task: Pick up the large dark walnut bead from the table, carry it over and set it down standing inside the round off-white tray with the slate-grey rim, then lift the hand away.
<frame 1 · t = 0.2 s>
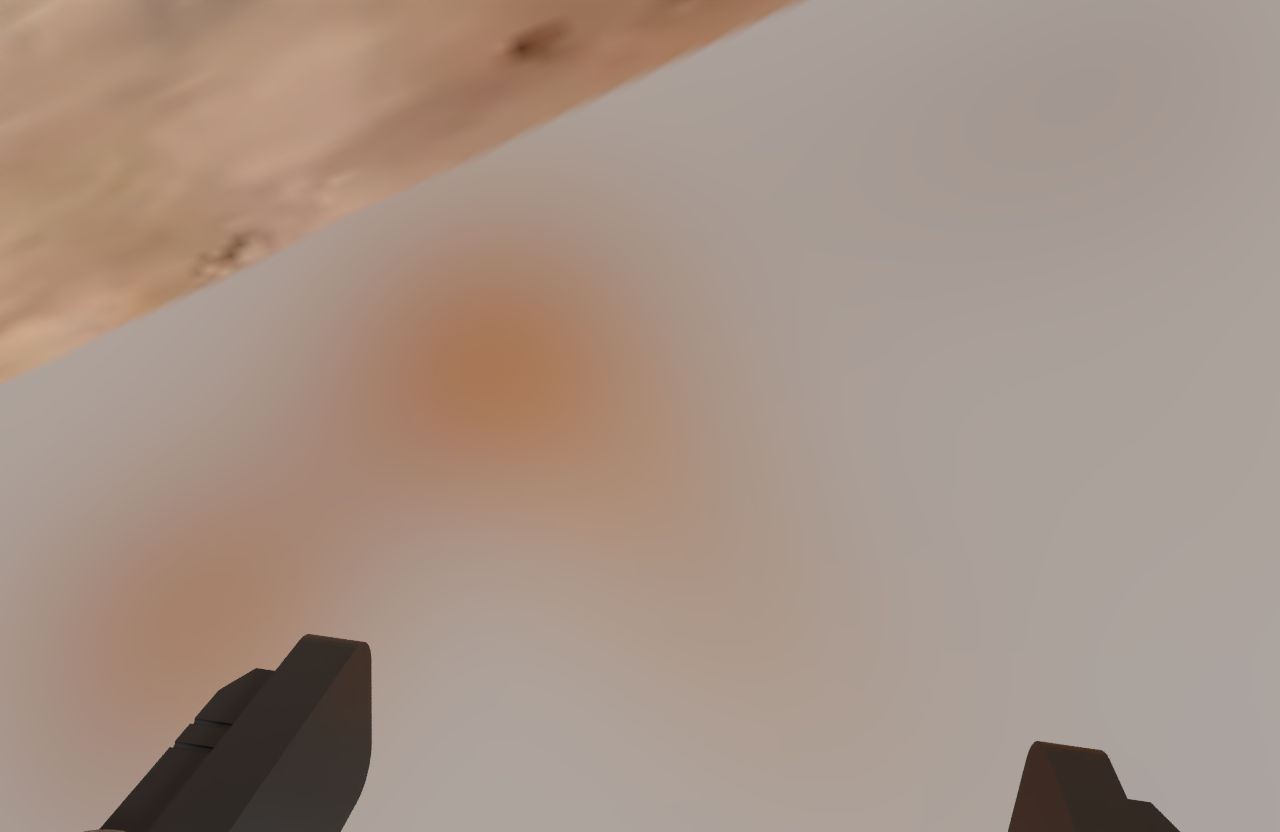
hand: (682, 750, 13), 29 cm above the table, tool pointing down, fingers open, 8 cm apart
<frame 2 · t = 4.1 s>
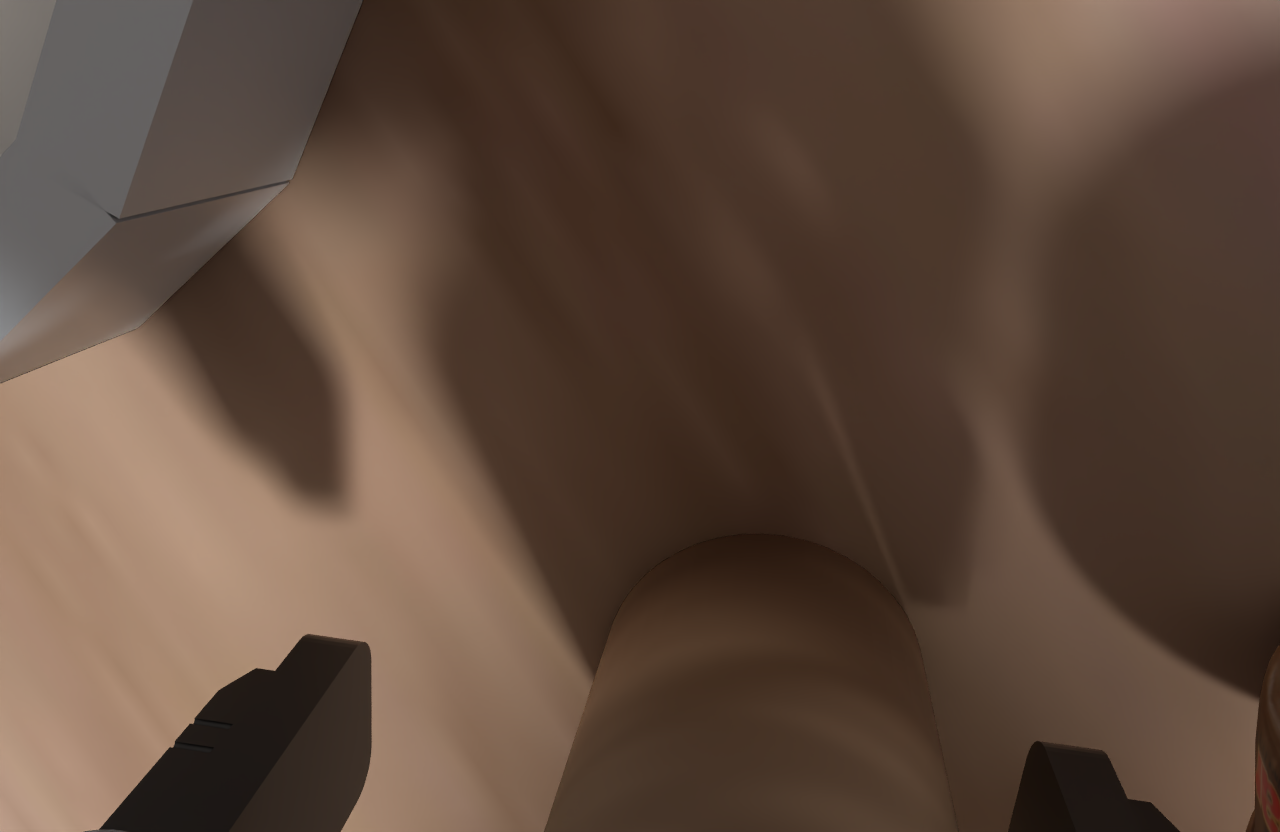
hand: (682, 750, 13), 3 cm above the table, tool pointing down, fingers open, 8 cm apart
walnut bead: (761, 679, 15), on the table
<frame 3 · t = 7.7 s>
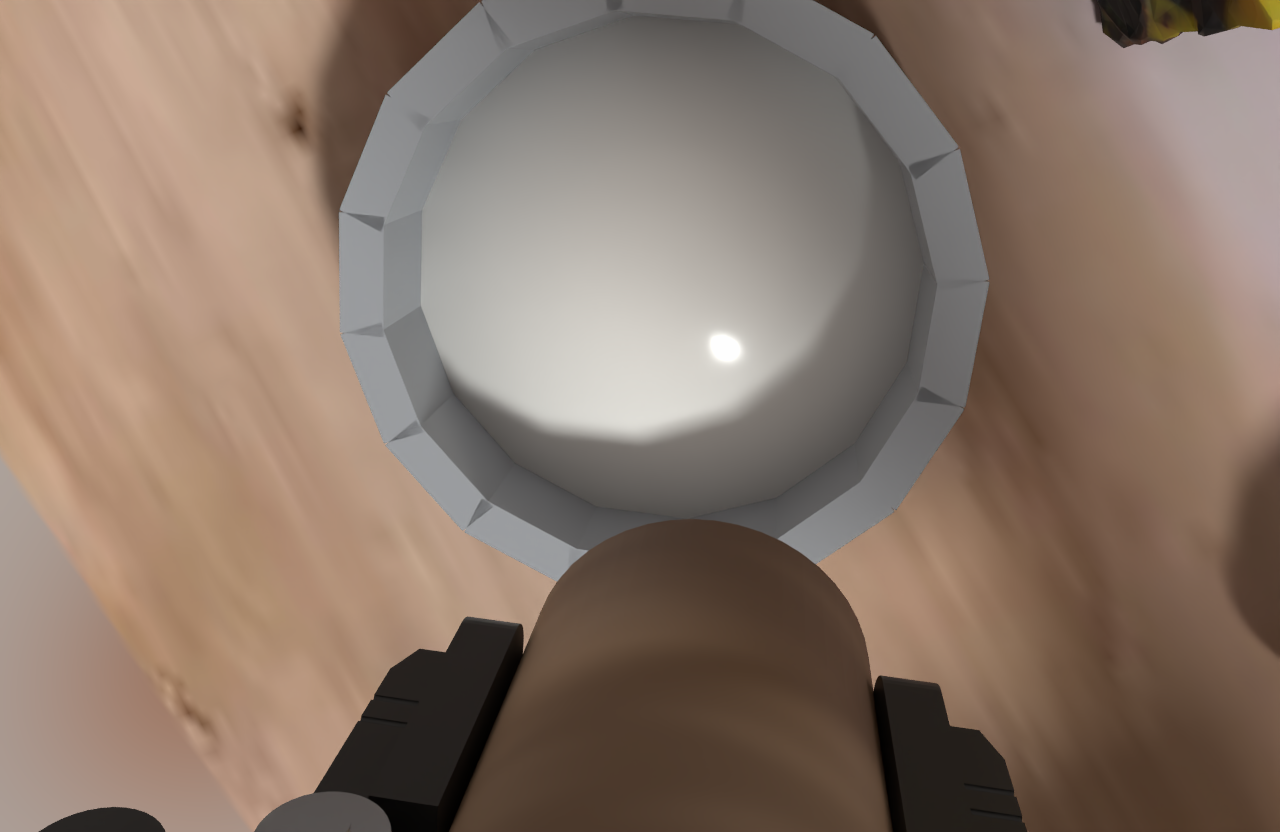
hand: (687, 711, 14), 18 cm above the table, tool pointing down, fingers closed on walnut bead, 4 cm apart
walnut bead: (697, 672, 15), point 17 cm above the table, touching gripper
round tray: (665, 279, 31), on the table
when the fingers open (3 cm above the table, at t = 10.5 s): walnut bead stays where it is, resting on round tray.
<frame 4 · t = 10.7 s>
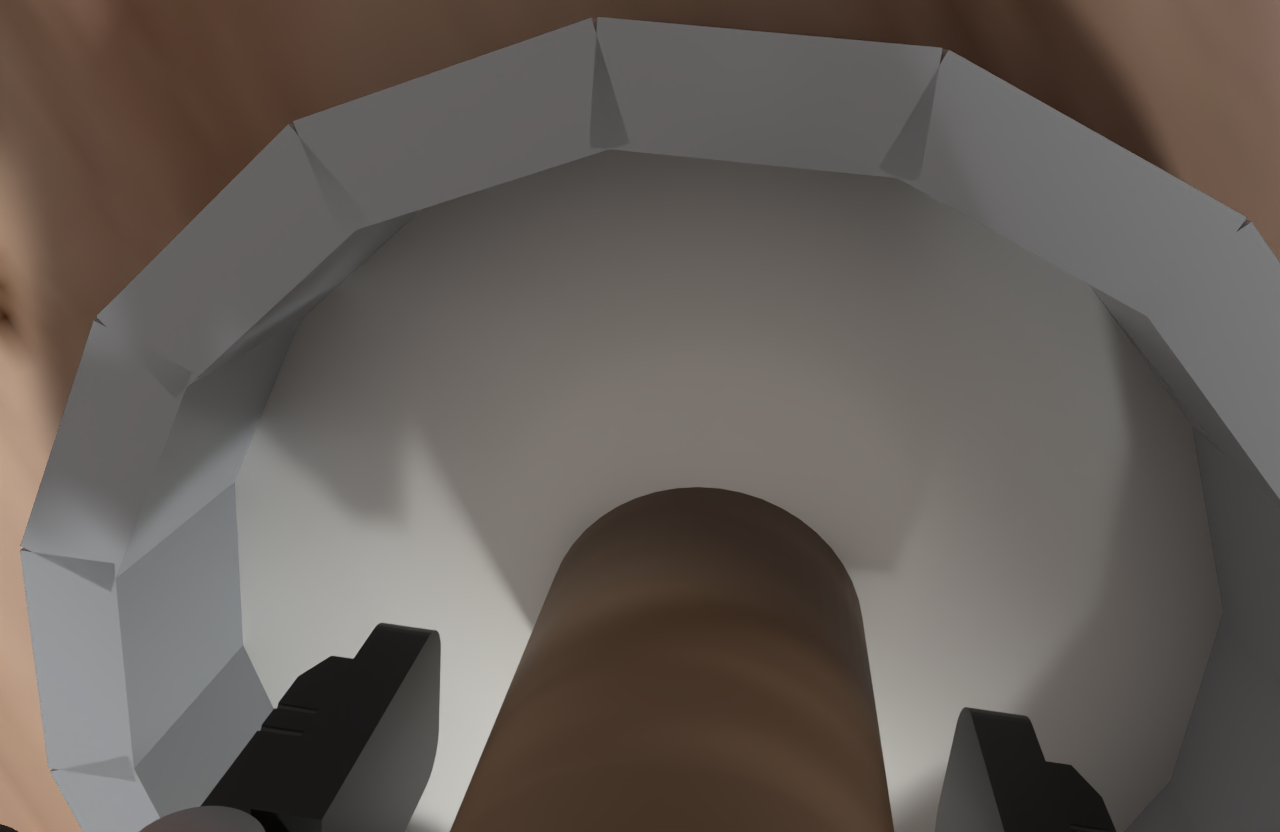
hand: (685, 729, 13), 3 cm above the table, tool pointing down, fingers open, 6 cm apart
walnut bead: (702, 632, 15), point 1 cm above the table, touching round tray
round tray: (702, 602, 16), on the table
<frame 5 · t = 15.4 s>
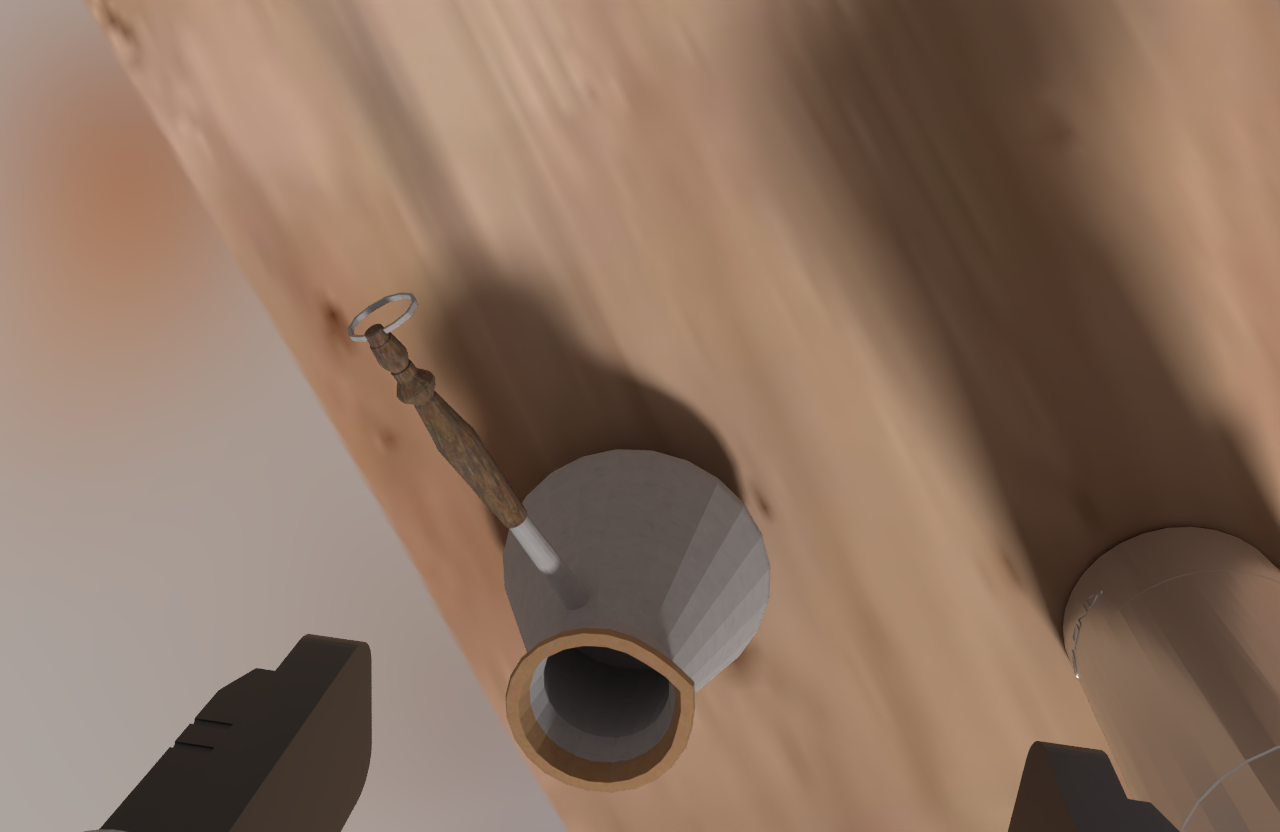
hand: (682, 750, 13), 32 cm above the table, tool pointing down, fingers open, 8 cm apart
coffee pot: (599, 448, 47), on the table
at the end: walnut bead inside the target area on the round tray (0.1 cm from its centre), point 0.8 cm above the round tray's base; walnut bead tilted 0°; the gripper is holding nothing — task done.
